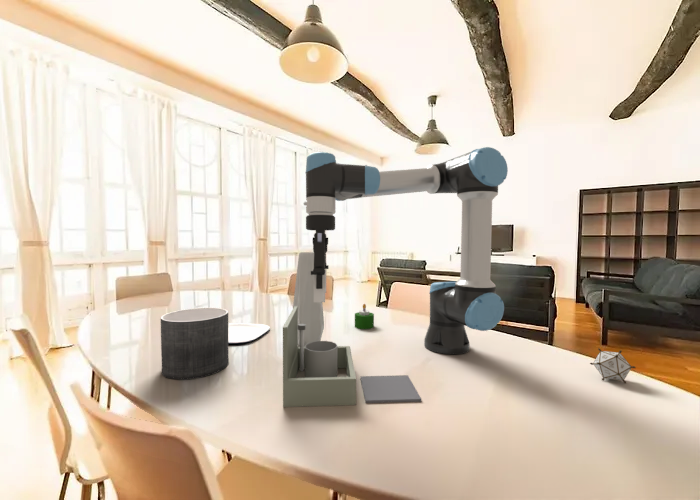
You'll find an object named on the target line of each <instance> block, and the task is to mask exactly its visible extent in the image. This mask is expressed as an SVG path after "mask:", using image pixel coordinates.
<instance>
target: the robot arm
mask: <svg viewBox="0 0 700 500" xmlns="http://www.w3.org/2000/svg"><path fill="white" fill-rule="evenodd" d="M507 176H508V164H507V161H506V159H505V157H504V155H502V154H501V152H500V151H499V150H497V149H496V148H493V147H490V146H486V147H485V146H484V147H481V148H475V149H473V150H471V151H469V152H467V153H465V154H462V155H459V156H457V157H454V158H451V159H449V160H446V161H443V162H440V163H437V164H436V163H434V164H429V165H427V166H426V167H425V168H424V167H423V168H411V169H410V168H409V169H398V170H383V171H379V169H378V167H376V166H372V165H367V164H365V165H363V164H362V165H361V164H347V163H338V162H337V160H336V156H335V155H334V154H333V153H331V152H326V151H316V152H312V153H309V154H308V155H307V157H306V165H305V194H306V195H305V199H306V201H304V202H303V206H306V207H305V213H306V214H308V215H306V216H305V229H306V230H307V231H315V232H314V233H313V237H312V250H313V251H312V252H314V269H313V271H311V275H314V302H322V303H326V293H327V270H329V265H328V264H327V261H326V260H327V252H328V245H329V237H327V234H326V231H335V230H336V217H335V215H334V214H335V213H336V201H338V202H342V201H346V200H351V199H363V198H370V197H380V196H383V197H384V196H390V195H401V194H414V193H420V192H422V193H423V192H427V193H428V194H430V195H432V194H456V197H458V199H460V200H461V233H460V234H461V236H460V241H461V243H460V274H459V275H460V278H459V279H458V280H457V281H438V282H437V281H436V282H432V283H431V284H430V288H429V326H428V328H427V331H426V333H425V336H424V339H423V341H424V347H425V348H426V349H427V350H429V351H432V352H434V353H438V354H444V355H462V354H466V353H468V352H469V351H470V347H471V346H470V344H471V343H470V341H469V337H468V334H467V331H466V327H467V328H469V329H471V330H477V331H481V332H485V331H490V330H492V329H493V328H495V327H497V324H499V323H500V322H501V320H502V318H503V316H504V311H505V304H504V301H503V299H502V298H501V296H500V295H498V294H497V293H496V290H497V289H496V287H497V285H496V284H495V283H494V282H493V281H492V280H491V269H492V268H491V267H492V266H491V265H492V263H491V261H492V233H493V232H492V228H493V227H492V224H493V221H492V217H493V200H494V199H495V198H496V197H497V196H498V194H499V186H500V185H502V184H503V183H504V182H505V180H506V179H507V178H508V177H507ZM465 326H466V327H465Z"/></svg>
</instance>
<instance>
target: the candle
mask: <svg viewBox="0 0 700 500" xmlns="http://www.w3.org/2000/svg"><path fill="white" fill-rule="evenodd" d="M366 308H367V305H366V304H365V303H364V304H363V305H362V309H361V310H359V312H355V313H354V328H355V329H358V330H371V329H374V328H375V313H373V312H370V310H367V309H366Z"/></svg>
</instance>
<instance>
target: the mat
mask: <svg viewBox="0 0 700 500" xmlns="http://www.w3.org/2000/svg"><path fill="white" fill-rule="evenodd" d="M359 378H360V383H361V387H362V392H363V396H364V397H363V398H364V401H365V404H373V403H374V404H377V403H381V404H382V403H383V404H384V403H410V402H412V403H413V402H415V403H416V402H419V403H420V402H422V397H421V395H420V394H419V392H418V391H417V389H416V387H415V386H414V384H413V382H412V380H411V378H410V376H409V375H407V374H406V375H405V374H403V375H401V374H400V375H361V376H360V377H359Z"/></svg>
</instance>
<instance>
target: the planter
mask: <svg viewBox="0 0 700 500" xmlns="http://www.w3.org/2000/svg"><path fill="white" fill-rule="evenodd" d="M228 323H229V310H228V309H226V308H220V307H196V308H195V307H194V308H187V309H179V310H175V311H171V312H167V313H165V314H163V315H161V316H160V349H161V351H160V352H161V374H162V376H163V377H165V378H167V379H171V380H192V379H199V378H203V377H204V378H205V377H208V376H211V375H213V374H216V373H219V372H220V371H222V370H224V369H225V368H226V367H227V366H228V365H229V363H230V362H229V344H228Z"/></svg>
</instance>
